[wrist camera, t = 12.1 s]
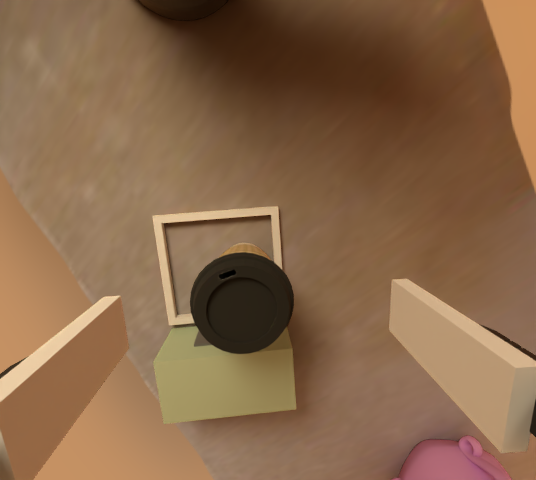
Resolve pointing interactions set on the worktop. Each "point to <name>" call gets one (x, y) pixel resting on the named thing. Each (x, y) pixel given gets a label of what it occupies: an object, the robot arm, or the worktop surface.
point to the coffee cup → (242, 300)
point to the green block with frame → (218, 352)
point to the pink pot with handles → (451, 461)
